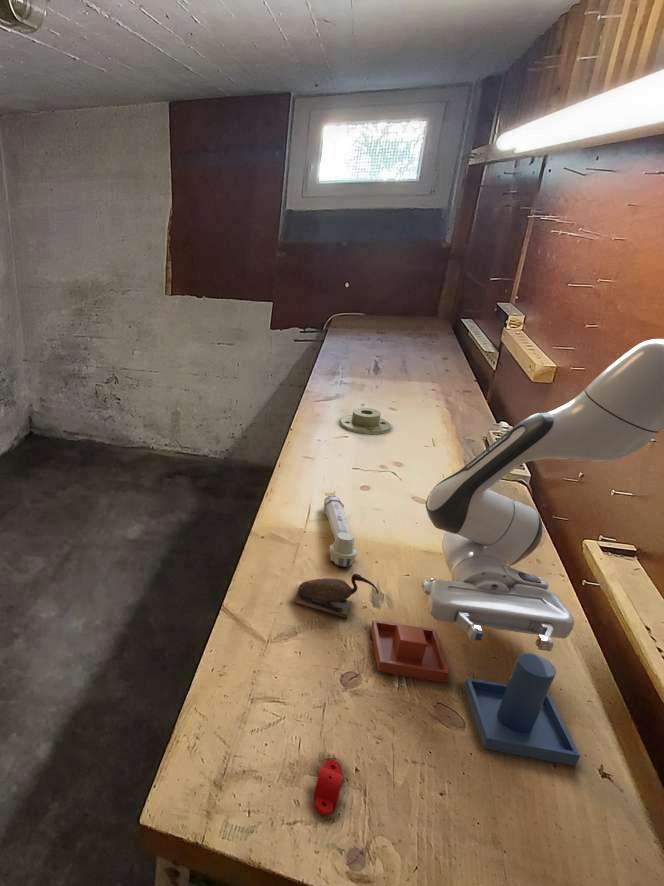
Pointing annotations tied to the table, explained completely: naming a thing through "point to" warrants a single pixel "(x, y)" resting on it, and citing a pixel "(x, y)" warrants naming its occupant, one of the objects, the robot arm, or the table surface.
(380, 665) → the terracotta tray
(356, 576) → the figurine
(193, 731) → the table surface
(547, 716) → the blue tray
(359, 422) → the flange
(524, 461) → the robot arm
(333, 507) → the light grey long piece
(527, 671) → the blue canister
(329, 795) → the pipe clamp
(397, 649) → the terracotta block
